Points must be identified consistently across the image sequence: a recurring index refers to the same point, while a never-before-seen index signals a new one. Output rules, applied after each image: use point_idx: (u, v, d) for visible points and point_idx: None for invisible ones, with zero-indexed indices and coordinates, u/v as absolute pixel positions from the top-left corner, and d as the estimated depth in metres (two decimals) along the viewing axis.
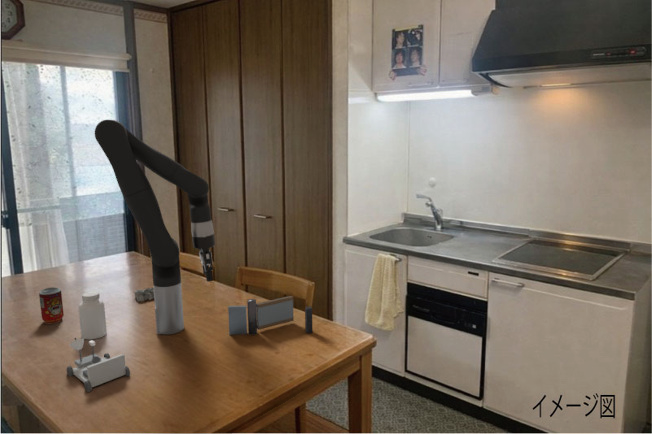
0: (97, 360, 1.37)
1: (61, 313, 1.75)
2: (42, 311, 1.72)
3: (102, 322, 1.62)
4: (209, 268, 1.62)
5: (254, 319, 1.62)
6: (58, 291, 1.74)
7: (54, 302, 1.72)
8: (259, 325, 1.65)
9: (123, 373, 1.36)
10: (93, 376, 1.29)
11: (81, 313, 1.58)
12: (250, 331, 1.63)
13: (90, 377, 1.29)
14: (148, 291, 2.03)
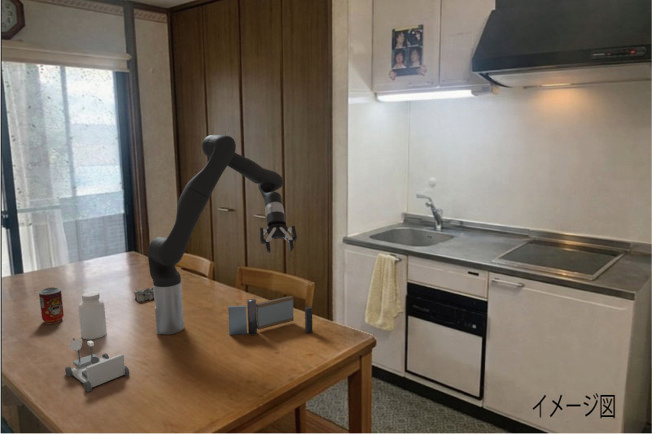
0: (96, 360, 1.37)
1: (61, 313, 1.75)
2: (42, 311, 1.72)
3: (102, 322, 1.62)
4: None
5: (254, 319, 1.62)
6: (58, 291, 1.74)
7: (54, 302, 1.72)
8: (259, 325, 1.65)
9: (122, 373, 1.36)
10: (92, 376, 1.29)
11: (81, 313, 1.58)
12: (250, 331, 1.63)
13: (90, 377, 1.28)
14: (148, 291, 2.03)
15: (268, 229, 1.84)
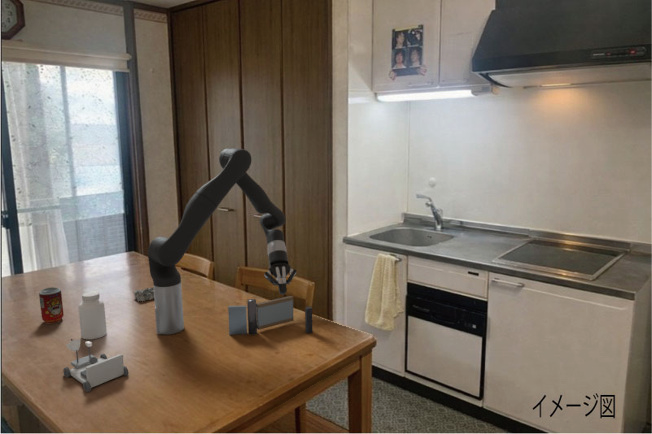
0: (95, 361, 1.37)
1: (61, 313, 1.75)
2: (42, 311, 1.72)
3: (102, 322, 1.62)
4: None
5: (254, 319, 1.62)
6: (58, 291, 1.74)
7: (53, 303, 1.72)
8: (259, 325, 1.65)
9: (121, 373, 1.36)
10: (92, 376, 1.29)
11: (81, 313, 1.58)
12: (250, 331, 1.63)
13: (89, 377, 1.28)
14: (147, 291, 2.03)
15: (271, 269, 1.82)
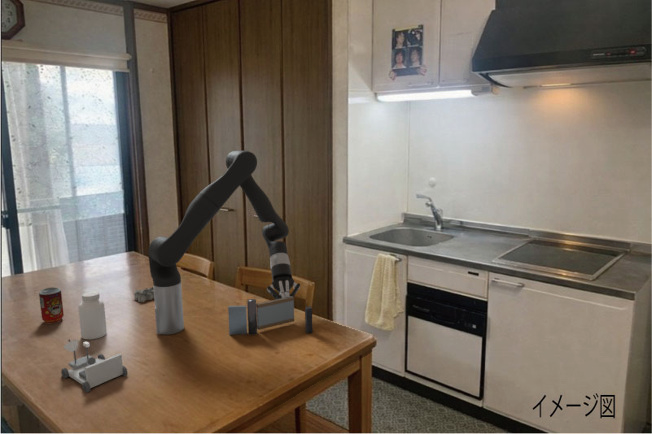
0: (93, 361, 1.37)
1: (61, 313, 1.75)
2: (42, 311, 1.72)
3: (102, 322, 1.62)
4: None
5: (254, 319, 1.62)
6: (58, 291, 1.74)
7: (53, 302, 1.72)
8: (259, 325, 1.65)
9: (120, 373, 1.36)
10: (91, 377, 1.29)
11: (81, 313, 1.58)
12: (250, 331, 1.63)
13: (88, 378, 1.28)
14: (146, 291, 2.02)
15: (274, 283, 1.76)
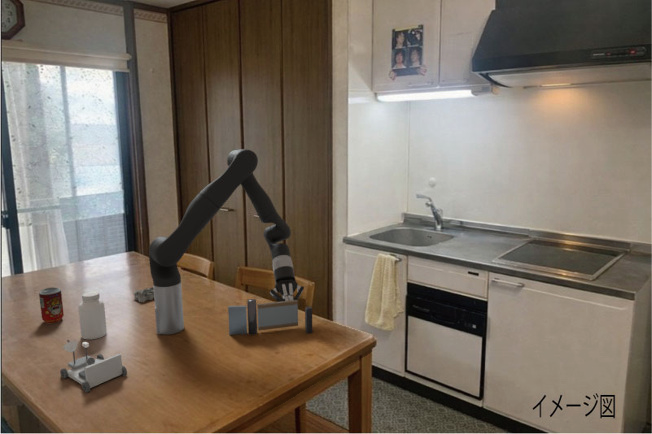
0: (92, 361, 1.37)
1: (61, 313, 1.75)
2: (42, 311, 1.72)
3: (102, 322, 1.62)
4: None
5: (254, 319, 1.62)
6: (58, 291, 1.74)
7: (54, 302, 1.72)
8: (259, 326, 1.64)
9: (120, 373, 1.36)
10: (91, 377, 1.29)
11: (81, 313, 1.58)
12: (250, 331, 1.63)
13: (88, 378, 1.28)
14: (146, 291, 2.02)
15: (277, 286, 1.72)
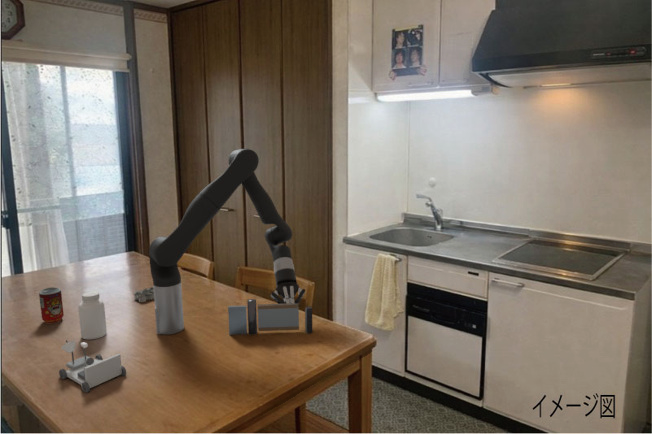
0: (91, 361, 1.36)
1: (61, 313, 1.75)
2: (42, 311, 1.72)
3: (102, 322, 1.62)
4: None
5: (254, 319, 1.62)
6: (58, 291, 1.74)
7: (53, 302, 1.72)
8: (259, 326, 1.64)
9: (119, 373, 1.36)
10: (90, 377, 1.29)
11: (81, 313, 1.58)
12: (250, 331, 1.63)
13: (88, 378, 1.28)
14: (146, 292, 2.02)
15: (278, 289, 1.70)
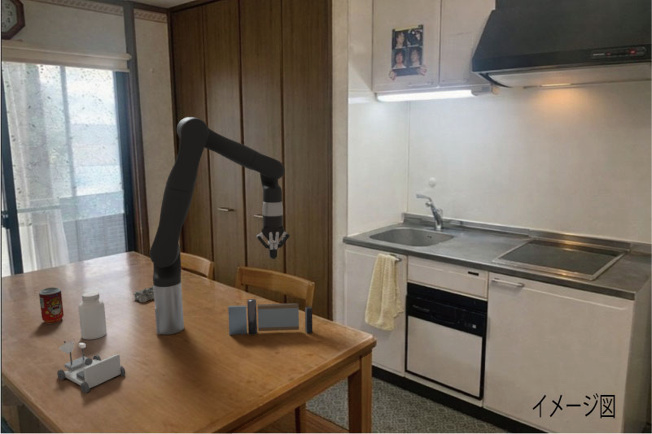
0: (90, 362, 1.36)
1: (61, 313, 1.75)
2: (42, 311, 1.72)
3: (102, 322, 1.62)
4: None
5: (254, 319, 1.62)
6: (58, 291, 1.74)
7: (54, 303, 1.72)
8: (259, 326, 1.64)
9: (118, 373, 1.36)
10: (90, 377, 1.29)
11: (81, 313, 1.58)
12: (250, 331, 1.63)
13: (87, 378, 1.28)
14: (145, 292, 2.02)
15: (264, 233, 1.76)
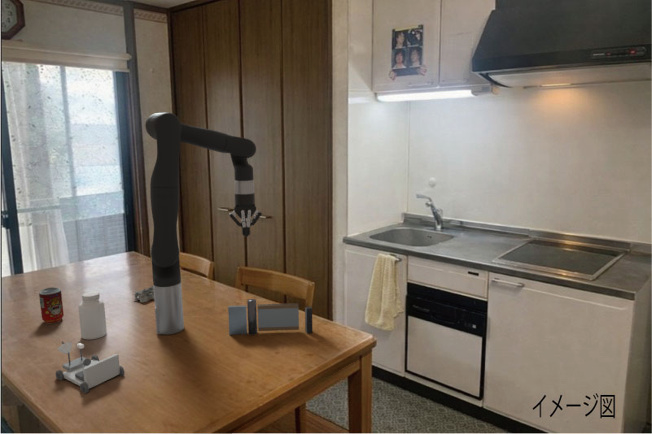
0: (88, 362, 1.36)
1: (61, 313, 1.75)
2: (42, 311, 1.72)
3: (102, 322, 1.62)
4: None
5: (254, 319, 1.62)
6: (58, 291, 1.74)
7: (54, 302, 1.72)
8: (259, 326, 1.64)
9: (117, 373, 1.36)
10: (89, 377, 1.28)
11: (81, 313, 1.58)
12: (250, 331, 1.63)
13: (87, 378, 1.28)
14: (145, 292, 2.02)
15: (237, 211, 1.80)
